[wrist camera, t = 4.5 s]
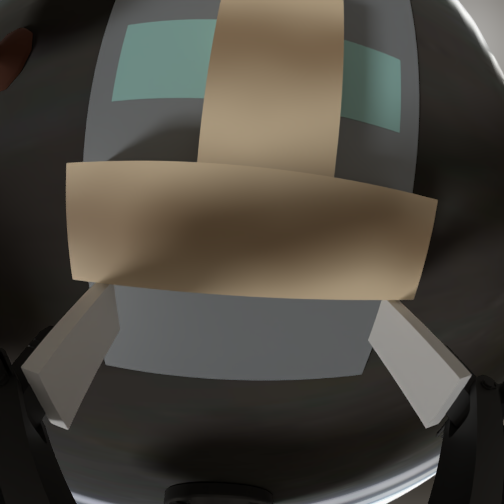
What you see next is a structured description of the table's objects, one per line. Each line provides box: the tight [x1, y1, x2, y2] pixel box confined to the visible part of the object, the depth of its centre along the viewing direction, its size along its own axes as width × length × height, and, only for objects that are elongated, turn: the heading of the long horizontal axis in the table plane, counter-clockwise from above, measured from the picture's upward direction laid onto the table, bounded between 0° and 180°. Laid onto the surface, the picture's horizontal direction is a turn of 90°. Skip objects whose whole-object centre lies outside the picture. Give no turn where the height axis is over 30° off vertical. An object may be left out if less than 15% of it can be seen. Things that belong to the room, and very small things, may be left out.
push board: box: [83, 0, 419, 380], centre depth 12 cm, size 34×19×1 cm, turn 175°
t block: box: [66, 0, 438, 300], centre depth 11 cm, size 15×16×4 cm
